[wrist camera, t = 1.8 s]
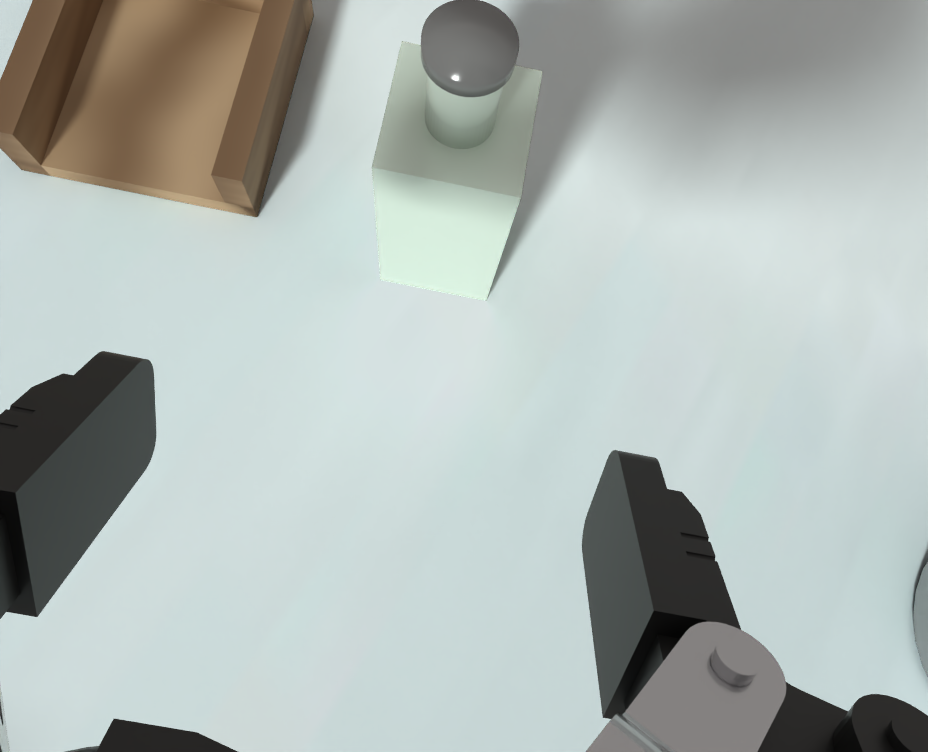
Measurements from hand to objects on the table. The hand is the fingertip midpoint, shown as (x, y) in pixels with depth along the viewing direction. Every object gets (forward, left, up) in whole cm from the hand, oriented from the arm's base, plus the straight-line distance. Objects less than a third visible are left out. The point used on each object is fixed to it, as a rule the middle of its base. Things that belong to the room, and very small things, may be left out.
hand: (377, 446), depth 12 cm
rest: (+13, -16, -16) cm, 26 cm away
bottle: (0, -11, -16) cm, 20 cm away
